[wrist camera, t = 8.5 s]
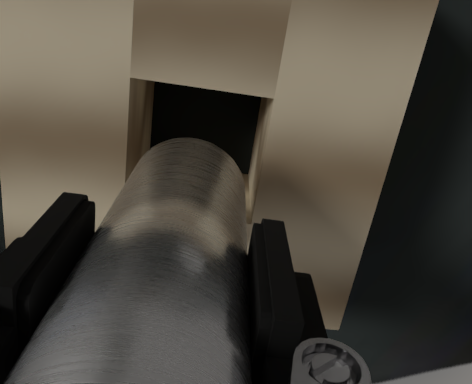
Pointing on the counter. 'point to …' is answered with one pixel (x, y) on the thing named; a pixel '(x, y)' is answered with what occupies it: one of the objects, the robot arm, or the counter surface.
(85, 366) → the long pin
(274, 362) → the robot arm
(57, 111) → the hole block
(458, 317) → the counter surface
